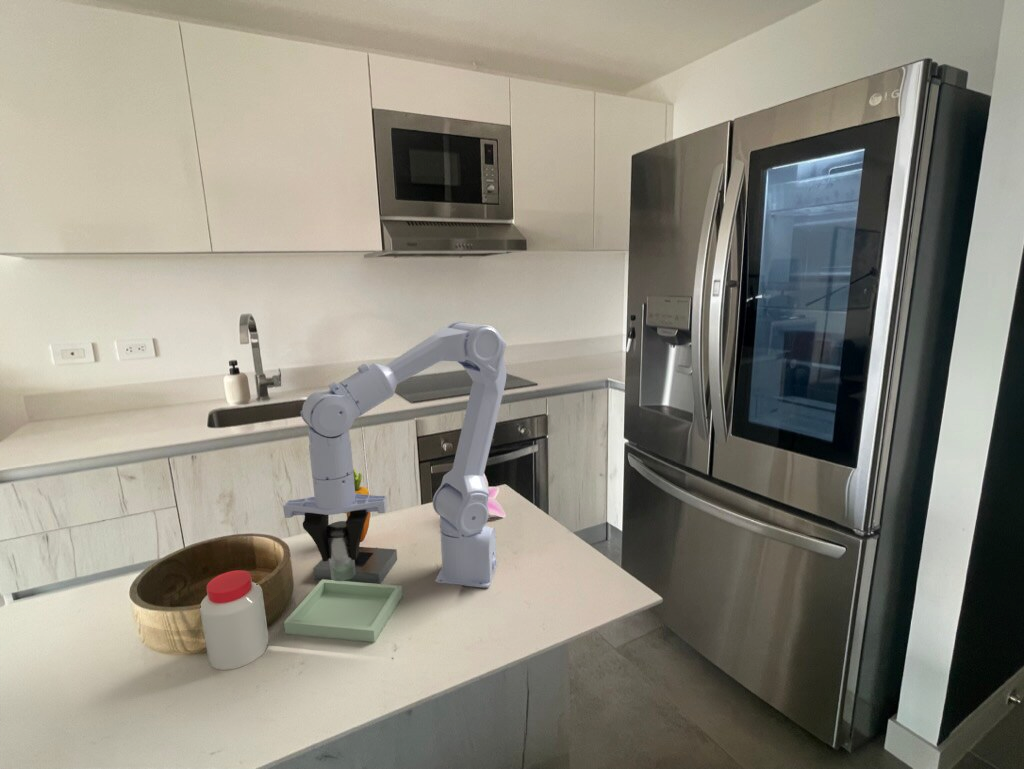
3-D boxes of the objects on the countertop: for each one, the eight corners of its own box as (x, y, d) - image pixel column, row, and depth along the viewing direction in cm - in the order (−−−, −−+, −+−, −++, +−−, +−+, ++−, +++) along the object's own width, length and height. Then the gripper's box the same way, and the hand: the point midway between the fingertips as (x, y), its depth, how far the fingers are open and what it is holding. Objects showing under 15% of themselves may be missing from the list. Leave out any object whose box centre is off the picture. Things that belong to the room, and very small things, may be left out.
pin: (357, 567, 82) (353, 520, 81) (353, 580, 79) (349, 531, 77) (333, 569, 82) (329, 522, 80) (328, 582, 78) (324, 533, 77)
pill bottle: (257, 624, 80) (248, 559, 78) (277, 649, 75) (268, 580, 72) (201, 650, 75) (189, 581, 73) (218, 679, 69) (206, 605, 67)
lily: (452, 538, 107) (471, 504, 103) (438, 496, 116) (455, 464, 112) (501, 539, 113) (521, 508, 110) (485, 500, 122) (502, 470, 118)
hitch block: (397, 562, 97) (396, 549, 96) (380, 587, 89) (378, 573, 88) (336, 557, 99) (335, 545, 98) (314, 582, 91) (313, 568, 90)
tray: (402, 598, 86) (401, 585, 85) (375, 645, 75) (373, 630, 75) (323, 592, 88) (322, 579, 87) (285, 636, 77) (283, 622, 77)
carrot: (369, 548, 102) (363, 476, 98) (344, 549, 102) (337, 476, 98) (376, 536, 106) (371, 466, 103) (352, 536, 106) (346, 466, 103)
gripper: (387, 460, 81) (393, 541, 84) (291, 464, 80) (301, 545, 83) (379, 478, 74) (386, 565, 77) (274, 483, 73) (285, 570, 76)
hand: (341, 557), depth 79 cm, fingers closed on pin, 4 cm apart
